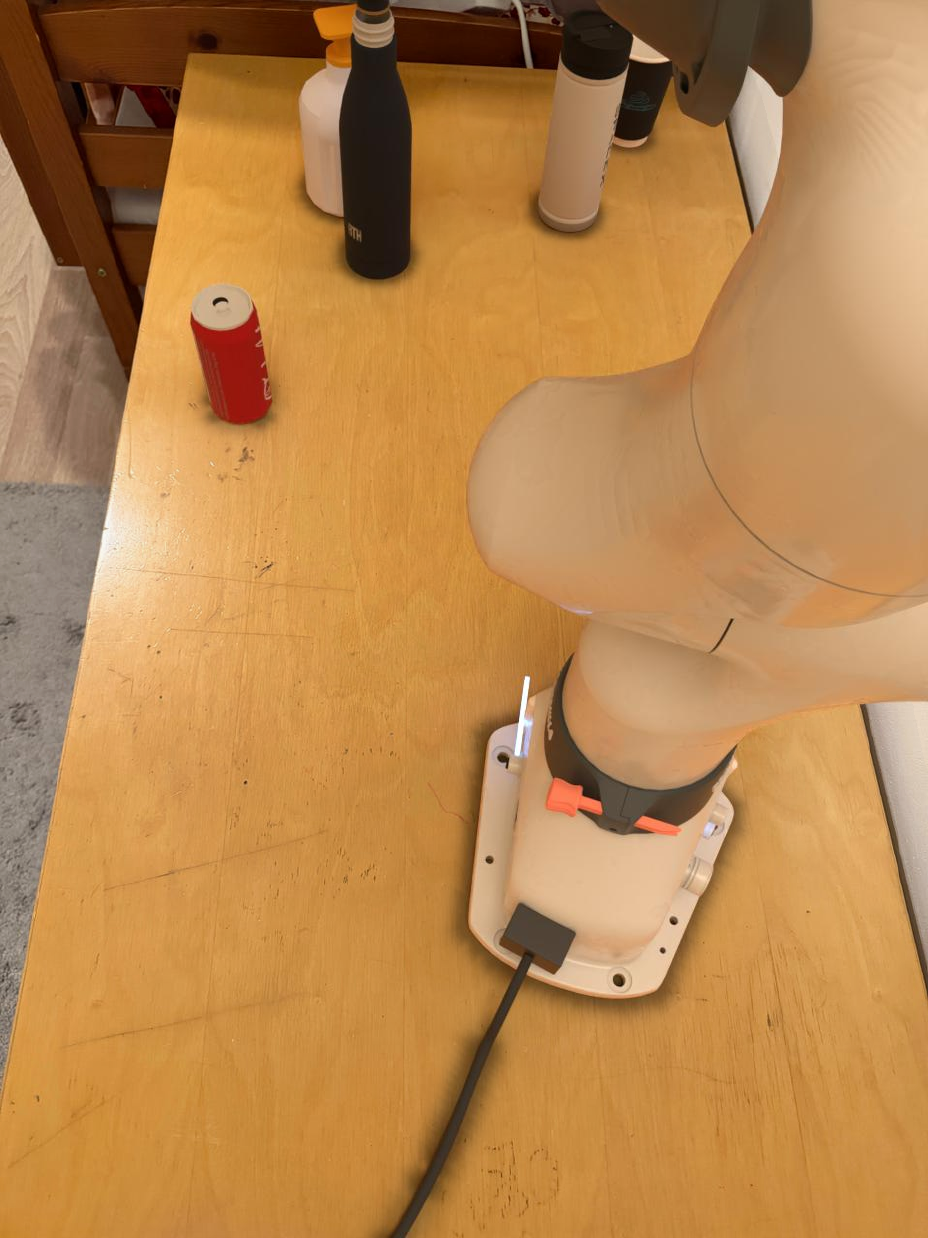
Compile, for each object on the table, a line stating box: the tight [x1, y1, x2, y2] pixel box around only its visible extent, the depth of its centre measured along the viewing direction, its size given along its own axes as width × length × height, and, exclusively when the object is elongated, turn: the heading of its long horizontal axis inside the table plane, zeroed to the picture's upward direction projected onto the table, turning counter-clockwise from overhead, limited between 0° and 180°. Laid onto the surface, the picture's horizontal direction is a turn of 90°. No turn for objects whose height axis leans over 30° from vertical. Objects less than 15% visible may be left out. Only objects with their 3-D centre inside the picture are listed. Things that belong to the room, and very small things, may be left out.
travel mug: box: [537, 9, 634, 233], centre depth 96 cm, size 6×7×20 cm
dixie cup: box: [612, 35, 673, 148], centre depth 107 cm, size 8×8×11 cm
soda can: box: [189, 282, 273, 424], centre depth 86 cm, size 6×6×12 cm
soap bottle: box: [298, 3, 357, 218], centre depth 94 cm, size 9×9×25 cm
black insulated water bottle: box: [339, 0, 413, 280], centre depth 87 cm, size 6×6×30 cm
